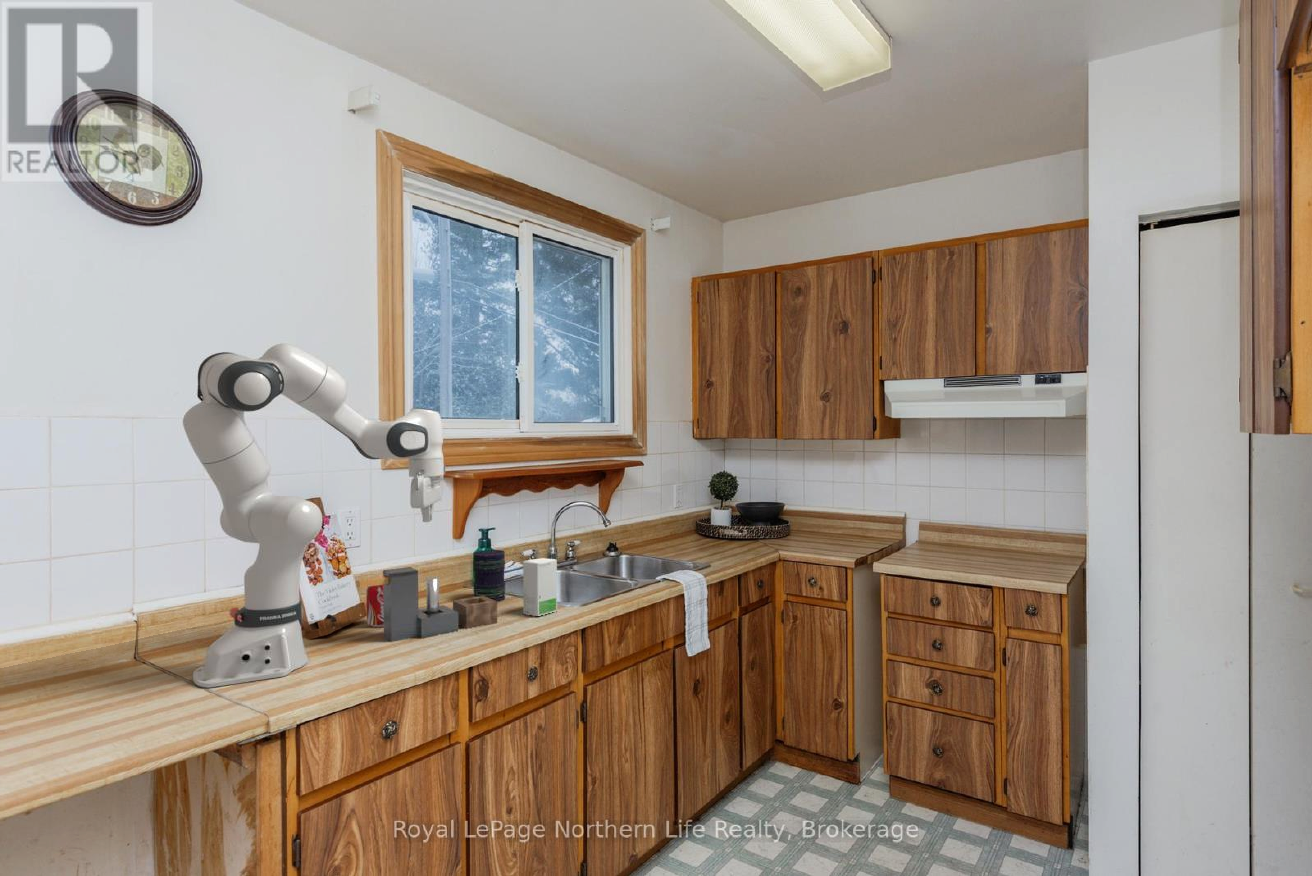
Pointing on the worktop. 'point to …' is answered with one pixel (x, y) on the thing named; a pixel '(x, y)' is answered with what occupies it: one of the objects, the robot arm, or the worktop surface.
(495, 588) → the storage jar
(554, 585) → the skincare box
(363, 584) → the bar
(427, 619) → the socket block
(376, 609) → the soda can
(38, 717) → the worktop surface
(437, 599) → the silver metal rod
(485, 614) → the brown wooden square holder
